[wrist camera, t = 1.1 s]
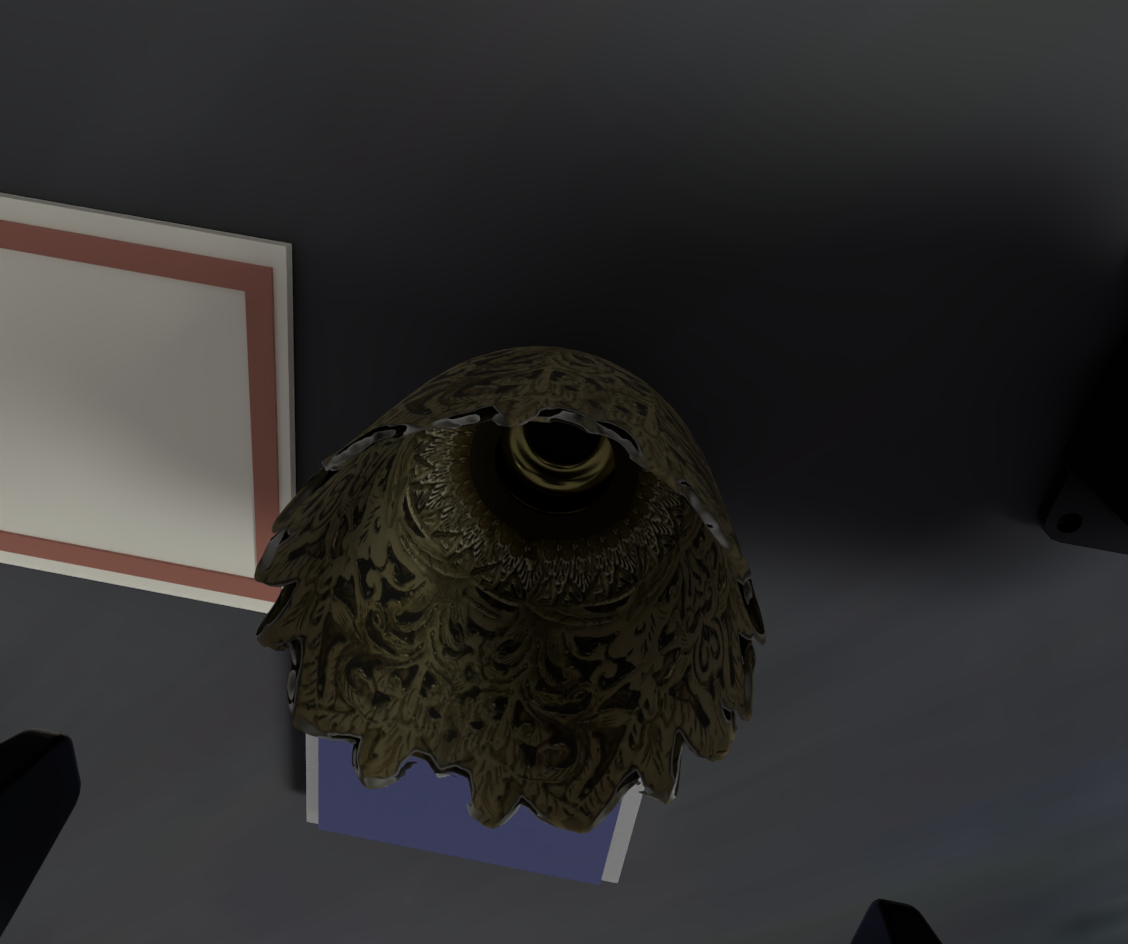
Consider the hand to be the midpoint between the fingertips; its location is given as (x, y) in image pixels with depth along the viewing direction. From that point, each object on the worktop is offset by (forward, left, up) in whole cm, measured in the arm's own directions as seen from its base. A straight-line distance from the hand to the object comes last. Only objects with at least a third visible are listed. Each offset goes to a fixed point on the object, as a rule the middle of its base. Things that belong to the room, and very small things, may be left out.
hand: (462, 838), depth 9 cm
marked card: (+11, +2, -11) cm, 16 cm away
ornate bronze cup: (0, 0, -11) cm, 11 cm away
